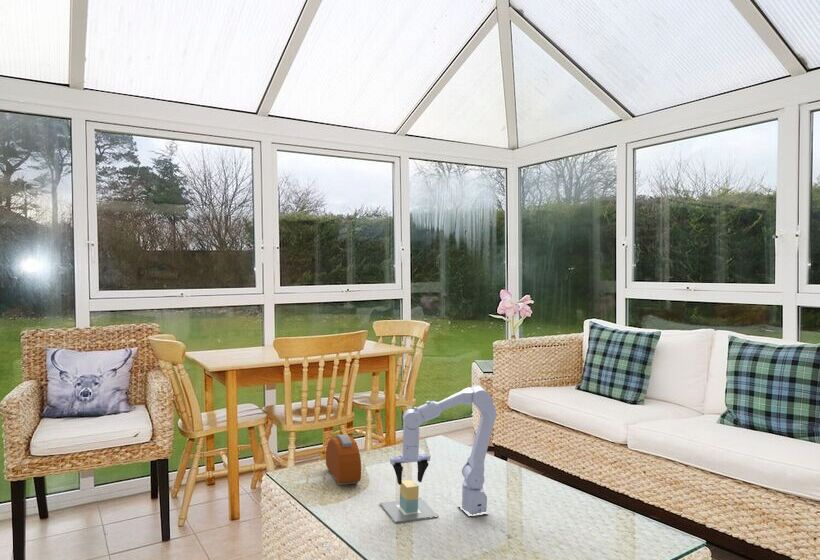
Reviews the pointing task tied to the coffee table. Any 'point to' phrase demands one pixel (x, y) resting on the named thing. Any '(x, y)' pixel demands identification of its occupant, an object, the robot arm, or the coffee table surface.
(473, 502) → the robot arm
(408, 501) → the teal brick
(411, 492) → the ochre brick
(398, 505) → the baseplate
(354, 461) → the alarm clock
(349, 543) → the coffee table surface
